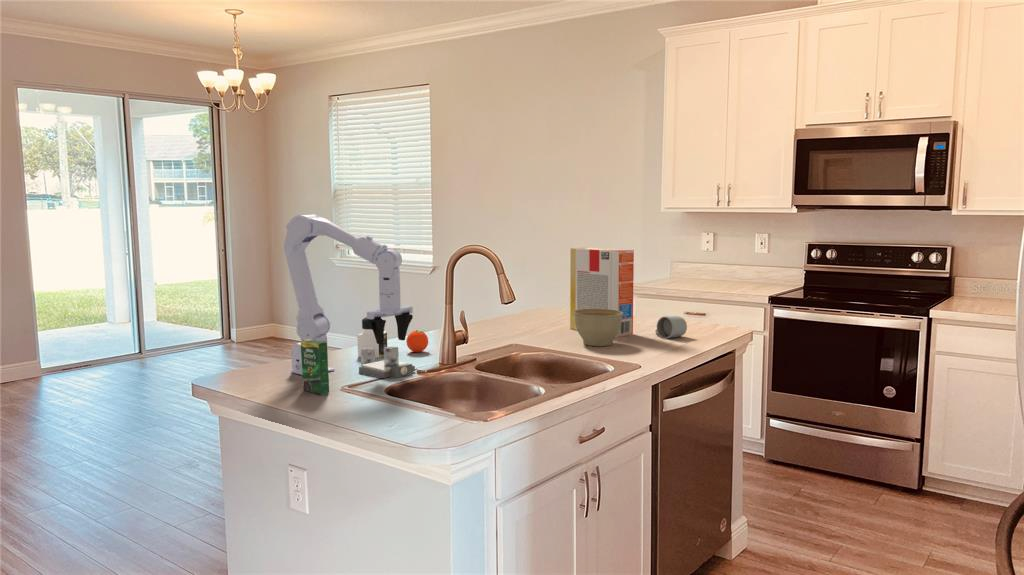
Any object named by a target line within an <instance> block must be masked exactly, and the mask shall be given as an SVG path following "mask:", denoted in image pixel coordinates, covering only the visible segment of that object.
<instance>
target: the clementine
mask: <svg viewBox="0 0 1024 575" xmlns="http://www.w3.org/2000/svg"><path fill="white" fill-rule="evenodd" d="M426 333H427V334H429V332H428V331H426V330H420V329H419V330H418V329H416V330H413V331H411V332H410V333H409V334H408V335H407V337H406V346H407V348H408V349H409V350H410V351H412V352H413V353H421V352H423V351H425V350H426V349H427V347H428V345H429V337H428V335H427V334H426Z"/></svg>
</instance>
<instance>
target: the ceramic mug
mask: <svg viewBox="0 0 1024 575" xmlns="http://www.w3.org/2000/svg"><path fill="white" fill-rule="evenodd" d="M687 330H688V325H687V321H686V320H685V318H684V317H682V316H678V315H674V316H671V315H670V316H668V315H666V316H665V315H664V316H661V317H660V318H659V319H658V320H657V323H656V329H655V330H654V331H655V335H656V336H659V337H661V339H665V340H667V339H672V338H679V337H682V336H684V335H685V334H686V333H687Z"/></svg>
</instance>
